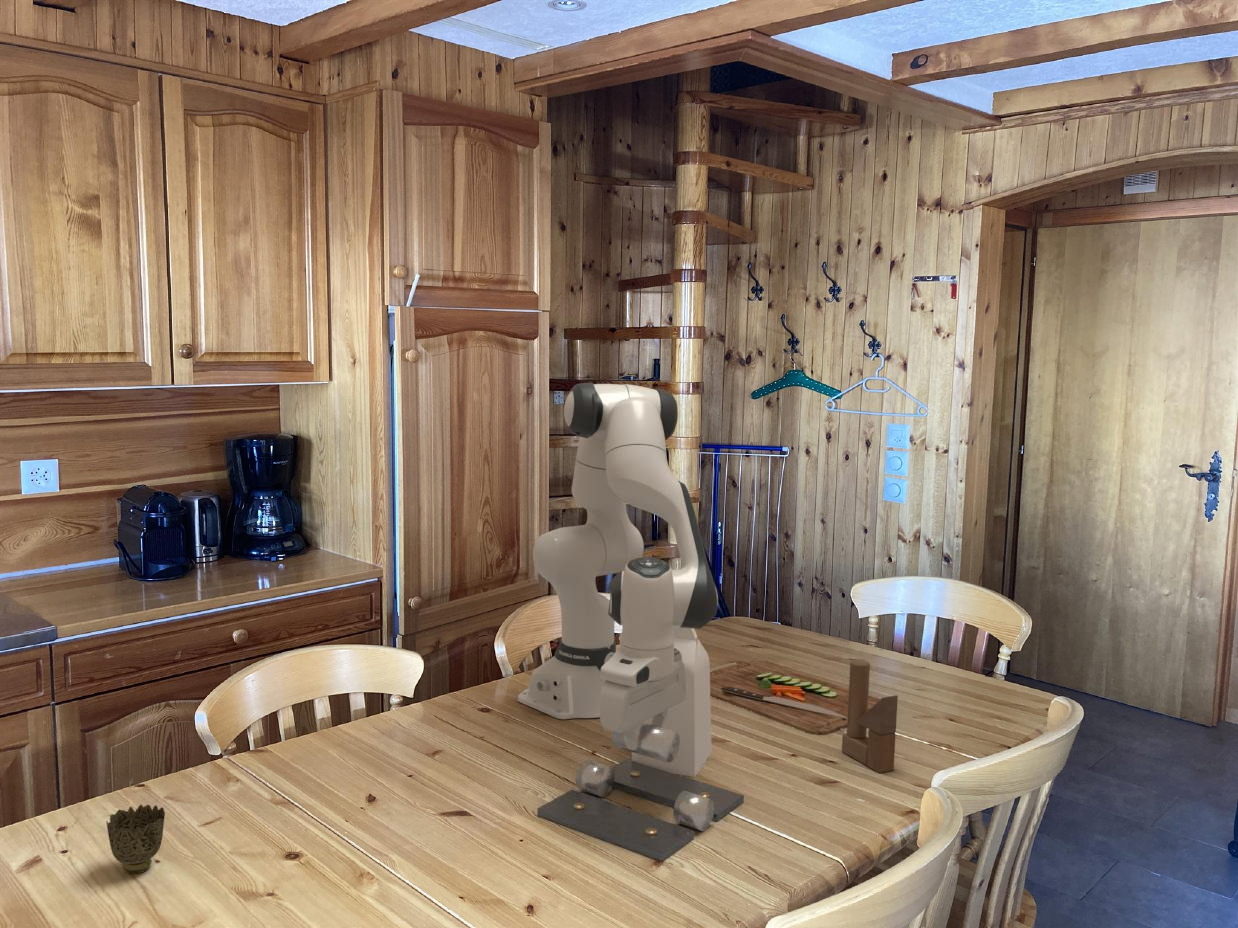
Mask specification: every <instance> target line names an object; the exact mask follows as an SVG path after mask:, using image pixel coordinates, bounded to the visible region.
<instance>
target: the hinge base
mask: <svg viewBox="0 0 1238 928" xmlns="http://www.w3.org/2000/svg"><path fill="white" fill-rule="evenodd" d="M631 760H632V759H624V760H623V761H620V762H619V763H617V764H615V765H614V766H612V767H611V766H608V765H606V764H601V763H599V762H594V761H592V760H588V759H587V760H584V761H583V762H582V763H581V764H580V765H579V767H578V769H577V772H576V775H575V785H576V787H577V789H578V790H580V791H578V790H575V789H571V790H568V791H566V792H565V793H562V794H561V795H559V796H558V797H556V798H554V799H552V800H551V801H549V802H547V803H545V804H543V805H541V806H539V807H537V808H536V809H537V812H536V814H537V817H540V818H543V819H545V820H549V821H551V822H553V823H554V822H555V823H556V824H559V825H562V826H564V827H568V828H570V829H573V830H576V831H578V832H581V833H584V834H587V835H589V836H592V837H594V838H598V839H600V840H602V841H605V842H607V843H611V844H613V845H616V846H619V847H621V848H625V849H627V850H630V851H632V852H635V853H637V854H640V855H643V856H645V857H648V858H651V859H654V860H656V861H659V862H662V863H663V862H664V861H665V860H667V859H668V858H670V857H671V856H673V855H674V854H675V853H676V852H678V851H679V850H680V849H683V847H685V846H686V845H688V843H690V842H692V840H694V839H695V830H698V831H701V832H705V831H706V830H707V829H709V827H710V825H711V824H712V821H714V822H718V821H720V820H722V819H723V818H724V817H725V816H726V815H729V813H731V812H732V811H733V810H735V809H736V808H738V807H739V806H740V805H742V804H743V803H744V801H745V799H744V798H745V795H744V794H741V793H737V792H735V791H731V790H728V789H725V788H722V787H719V786H715V785H712V784H708V783H705V782H703V781H699V780H695V779H692V778H689V777H685V776H684V775H680V774H674V773H670V772H667V771H663V770H660V769H657V768H654V767H650V766H647V765H644V764H641V763H637V762H634V761H631ZM613 788H614V789H615V790H619V791H623V792H625V793H629V794H632V795H635V796H638V797H641V798H643V799H646V800H649V801H653V802H656V803H658V804H662V805H664V806H668V807H670V808H673V809H672V810H673V812H672V813H673V819H674V821H675V823H676V824H674V823H672V822H669V821H666V820H663V819H661V818H657V817H655V816H651V815H648V814H645V813H643V812H640V811H636V810H634V809H630V808H628V807H625V806H622V805H620V804H617V803H614V802H611V801H607V800H604V799H602V798H605V797H607V796H608V795H609V794H610V793H611V791H612V789H613ZM581 791H583V792H581ZM584 792H585V793H584ZM587 793H589V794H590V795H589V794H587ZM592 795H595V796H592ZM596 796H597V797H596ZM598 797H601V798H598ZM677 823H678V824H680V825H683V826H686V827H688V828H686V827H683V826H680V825H677ZM690 828H691V829H690ZM693 829H695V830H693Z"/></svg>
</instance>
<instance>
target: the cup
mask: <svg viewBox="0 0 1238 928" xmlns="http://www.w3.org/2000/svg"><path fill="white" fill-rule="evenodd" d="M165 816H166V812H165V809H164V807H162V806H161V807H160V808H158V805H157V804H155V805H153V807H151V805H149V804H146V805H142V804H140V805H138V807H137V808H135V810H134V808H133V807H132V806H129V808H128V811H127V810H125V809H120V808H119V809H118V810H117V811H116V812H115V814H114V813H113V814H110V817H109V822H108V820H106V822H105V823H106V828H107V834H108V835H107V836H108V841H109V846H110V851H111V852H112V855H113V857H114V858H115V859H116V861H118V862H119V863H122V864H123V865H122V868H123V870H124V872H125V873H127V872H128V873H127V874H130V873H136V874H140V873H139V872H141V873H143V872H142V871H144V870H146V869H147V870H148V869H149V868H150V867H151V865H152V863H153V859H152V858H153V857H155V856H156V854H157V853H158V852H159V851H160V849H161V845H162V840H163V836H164V825H165ZM147 870H146V871H147ZM144 872H145V871H144Z"/></svg>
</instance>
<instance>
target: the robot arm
mask: <svg viewBox="0 0 1238 928" xmlns="http://www.w3.org/2000/svg"><path fill="white" fill-rule="evenodd" d="M678 409H679V408H678V402H677V400H676V398H675V396H674V395H673V393H672V392H669V391H666V390H665V389H664V390H663V389H660V388H658V387H656V388H654V389H653V388H650V387H645V386H642V385H641V386H640V385H635V384H627V383H623V384H617V383H615V384H614V383H595V384H594V383H593V382H583V383H577V384H574V386H573V387H572V388H570V390H569V392H568V395H567V397H566V398H565V402H564V406H563V414H564V420H565V425H566V428H567V429H568V430H569V432H570V433H571V434H573V435H575V436H577V437H579V442H578V445H577V451H576V456H575V462H574V463H575V464H574V470H573V478H572V484H571V495H572V497H573V499H574V501H575V502H576V503H577V504H578V505H579V506H581V507H582V508H583V509H585V510H586V514H587V515H586V516H587V518H586V523H585V524H582V525H573V526H565V527H564V526H563V527H559V528H556V529H553V530H550V531H548V532H545V533H543V534H541V535H540V536H539V537H537V539H536V540H535V543H534V545H533V551H532V559H533V565H534V568H535V569H536V571H537V573H538V574H539V575H540V576H541V577H542V578H543V579H545V580H546V581H548V582H549V583H550V584H551V586H552V587H553V590H554V591H555V592H556V594H557V597H558V600H559V604H560V612H561V613H560V614H561V639H558V640H557V641H556V642H552V643H550V645H551V647H550V649H551V650H552V649H555V653H554V654H553V655H554V656H552V657H551V658H549V659H548V660H547V661H545V662H544V663H542V664H541V665H540V666H538V667H537V668H536V669H534V670H533V671H532V673H531V675H530V678H529V682H528V688H526V689H524V690H523V691H521V692H520V693H519V694H518V695H517V702H519V703H521V704H524V705H526V706H528V707H531V708H533V709H535V710H537V711H539V712H542V713H544V714H547V715H548V716H551V717H553V718H555V719H559V720H569V719H594V718H599V720H600V724H601V726H602V728H603V729H604V730H605V731H608V732H611V733H612V732H615V733H622V732H624V734H625V736H626V738H627V748H628V749H630V750H636V749H638V748H640V746H641V744H640V743H641V738H640V737H637V733H636V730H638V724H640V723H642V722H644V721H646V720H648V719H650V718H651V717H653V720H652V725H655V726H658V727H662V728H663V724H664V722H665V719H666V716H667V709H669V708H671V707H673V706H675V705H677V704H679V703H681V702H683V701H684V699H685V696H686V674H685V666H684V663H683V662H682V655H681V653H680V652H679V650H677V649H676V648H674V637H673V633H672V627H681V628H692V629H695V630H700V629H701V628H704V626H706V625H707V624H709V623H710V622H711V621H712V620H713V619H714V617H715V616H716V615H717V611H718V606H719V605H718V603H719V596H718V595H719V594H718V591H717V588H716V587H717V586H716V585H715V580H714V577H713V575H712V571H711V569H710V566H709V562H708V559H707V555H706V551H705V547H704V542H703V539H702V536H701V530H700V528H699V523H698V519H697V516H696V512H695V508H694V504H693V501H692V498H691V495H690V493H689V490H688V488H687V486H686V484H685V483H684V482H682V481H680V480H678V479H677V478H676V477H675V475H674V474H673V472H672V471H671V468H670V466H669V462H668V459H667V458H668V457H667V444H666V441H667V440H668V439H670V438H671V437H672V436H673V435H674V433H675V431H676V428H677V424H678V419H679V412H678ZM627 504H628V505H630V506H631V507H634V508H637V509H639V510H642V511H645V512H648V513H650V514H653V515H656V516H657V517H659V518H661V519H663V520H664V521H665V522H667V524H669V525H670V528H672V530H673V533H674V536H675V540H676V545H677V549H678V550H677V551H678V553H679V558H680V562H681V566H682V568H680V569H672V567H671V565H670V563H668V562H667V561H665V560H663V559H660V558H656V557H645V556H643V555H644V547H645V545H644V539H643V537H642V534H641V533H640V530H639V529H638V528H637V527H636V526H635V525H634V524H633V523H632V522H631V520H630V518H629V515H628V511H627ZM613 574H614V575H615V574H616V575H615V576H614V577H612V579H611V580H610V581H608V587H609V598H607V597H606V596H605V595H603V594H601V593H599V592H598V589H597V584H596V577H601V576H602V577H603V576H608V575H613ZM615 623H617V624H618V625H619V626H622V630H621V635H620V638H619V648H618V649H617V642H616V640H615Z"/></svg>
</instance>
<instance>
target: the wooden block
mask: <svg viewBox="0 0 1238 928" xmlns="http://www.w3.org/2000/svg"><path fill="white" fill-rule="evenodd" d="M870 667H871V664H870V662H869V661H867V660H865V659H851V660H850V664H849V683H848V689H849V700H848V721H847V728H846V730H847V733H846V734H843V733H842V739H841V740H842V742H841V751H842V753H844V754H846V755H847V756H848V757H851V758H853V759H854V760H856V761H857V762H859V763H861V764H862V765H865V766H867V767H868V768H869V769H871V770H873V771H875V772H877V773H878V774H882V773H885V772H890V771H894V767H895V751H896V749H895V747H896V732H897V717H898V716H897V715H898V714H897V713H898V699H899V696H898V694H895V695H890V696H883V697H881V698H879V699H880V700H879V701H878V702H877V703H876V704H875V705H874V706H873V707H871V708H870V709H869V710H868V695H869V690H870V670H871V668H870ZM867 729H868V730H867ZM867 731H868V732H867ZM867 733H868V734H867ZM867 735H868V736H867Z"/></svg>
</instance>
